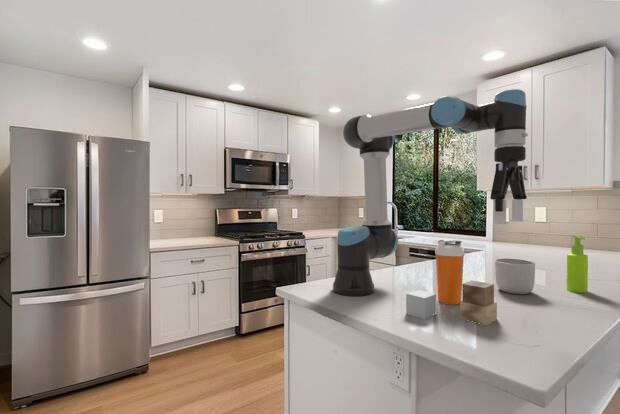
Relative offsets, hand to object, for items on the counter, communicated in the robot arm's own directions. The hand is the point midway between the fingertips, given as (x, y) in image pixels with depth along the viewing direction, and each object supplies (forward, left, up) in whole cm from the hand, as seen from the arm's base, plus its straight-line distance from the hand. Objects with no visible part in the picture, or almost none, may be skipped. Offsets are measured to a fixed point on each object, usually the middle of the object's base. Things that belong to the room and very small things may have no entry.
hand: (509, 222), depth 94 cm
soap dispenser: (+7, +47, -27) cm, 55 cm away
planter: (-8, +30, -27) cm, 41 cm away
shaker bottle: (-18, +1, -27) cm, 32 cm away
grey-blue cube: (-18, -16, -27) cm, 36 cm away
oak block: (-5, -8, -27) cm, 29 cm away
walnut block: (-5, -8, -22) cm, 24 cm away
